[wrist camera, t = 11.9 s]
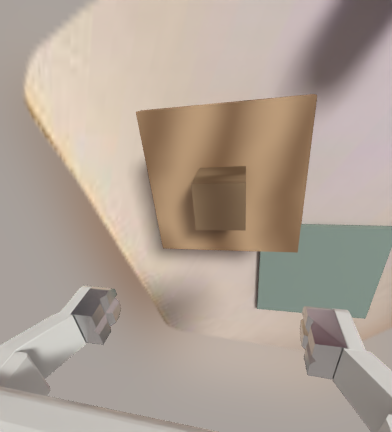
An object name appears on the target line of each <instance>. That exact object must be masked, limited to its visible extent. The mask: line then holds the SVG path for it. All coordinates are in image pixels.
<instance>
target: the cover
mask: <svg viewBox="0 0 392 432" xmlns="http://www.w3.org/2000/svg"><path fill="white" fill-rule="evenodd" d="M316 101H317V95H315V94H310V95H299V96H289V97H278V98H268V99H257V100H247V101H236V102H226V103H215V104H205V105H194V106H184V107H173V108H163V109H152V110H142V111H138V112H136V115H137V120H138V125H139V130H140V135H141V140H142V145H143V150H144V155H145V160H146V165H147V170H148V175H149V180H150V185H151V190H152V195H153V200H154V205H155V210H156V215H157V220H158V225H159V230H160V235H161V240H162V245H163V248H170V249H201V250H232V251H263V252H295V253H298V246H299V238H300V230H301V222H302V214H303V206H304V197H305V189H306V181H307V173H308V165H309V157H310V149H311V141H312V133H313V125H314V117H315V109H316Z"/></svg>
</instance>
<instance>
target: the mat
mask: <svg viewBox="0 0 392 432" xmlns="http://www.w3.org/2000/svg"><path fill="white" fill-rule="evenodd" d="M391 248H392V226H362V225H317V224H301V230H300V238H299V246H298V253H295V252H263V251H260V263H259V282H258V300H257V309H266V310H277V311H288V312H299V313H302V311H303V308H304V306H310V307H322V308H331V309H344V310H348V311H349V312H350V315H351V317H353V318H364V319H365V318H366V315H367V313H368V310H369V307H370V305H371V302H372V299H373V296H374V294H375V291H376V288H377V286H378V283H379V280H380V278H381V275H382V272H383V269H384V267H385V264H386V261H387V259H388V256H389V253H390V250H391Z"/></svg>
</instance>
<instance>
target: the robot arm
mask: <svg viewBox="0 0 392 432" xmlns="http://www.w3.org/2000/svg"><path fill="white" fill-rule="evenodd" d="M116 295H117V293H116V291H115V289H112V288H103V287H95V286H85V285H84V286H82V287H80V289H79V290H78V291H77V292H76V294H75V295H74V296H73V297H72V298H71V299H70V301H69V302H68V303H67V304H66V306H65V307H64V308H63V309H62V310H61V312H60V313H55V314H54V315H52V316H50V317H48V318H47V319H45V320H43V321H42V322H40V323H38V324H36V325H35V326H33V327H31V328H30V329H28V330H26V331H24V332H23V333H21V334H19V335H17V336H16V337H14V338H12V339H10V340H9V341H7V342H5V343H3V344H2V345H0V432H217V431H212V430H208V429H203V428H198V427H193V426H189V425H184V424H179V423H174V422H169V421H165V420H160V419H155V418H150V417H145V416H141V415H136V414H131V413H126V412H122V411H117V410H112V409H107V408H103V407H98V406H92V405H88V404H83V403H78V402H74V401H69V400H64V399H59V398H55V397H50V396H47V395H48V393H49V392H50V386H49V385H48V383H47V382H46V380H45V378H47V377H48V376H49V375H50V374H51V373H52V372H54V371H55V370H56V369H57V368H58V367H59V366H61V365H62V364H63V363H64V362H65V361H67V360H68V359H69V358H70V357H71V356H72V355H74V354H75V353H76V352H77V351H78V350H79V349H81V348H82V347H83V346H84V345H85V344H86V343H92V344H101V345H103V344H104V343H105V341H106V339H107V338H108V336H109V334H110V332H111V327H110V326H112V325H113V324H114V323H116V321H117V320H118V318H119V315H120V311H121V307H120V303H119V301H118V300H117V299H116V298H115V297H116ZM302 314H303V319H302V320H301V322H300V339H301V345H302V347H303V348H304V349H305V354H304V360H305V365H306V370H307V375H310V376H316V377H321V378H327V379H333V382H334V383H335V384H336V386H337V387H338V388H339V390H340V391H341V392H342V394H343V395H344V396H345V398H346V399H347V400H348V402H349V403H350V404H351V406H352V407H353V408H354V410H355V411H356V412H357V414H358V415H359V416H360V418H361V419H362V420H363V422H364V423H365V424H366V425H367V427H368V428H369V430H370V431H371V432H392V370H391V369H390V368H388V367H387V366H386V365H385V364H384V363H383V362H382V361H381V360H380V359H378V358H377V357H376V356H375V355H374V354H373V353H372V352H369V351H366V349H365V347H364V345H363V342H362V340H361V338H360V335H359V333H358V331H357V328H356V326H355V324H354V321H353V319H352V317H351V315H350V312H349V311H348V310H344V309H331V308H322V307H310V306H304V308H303V311H302Z"/></svg>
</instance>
